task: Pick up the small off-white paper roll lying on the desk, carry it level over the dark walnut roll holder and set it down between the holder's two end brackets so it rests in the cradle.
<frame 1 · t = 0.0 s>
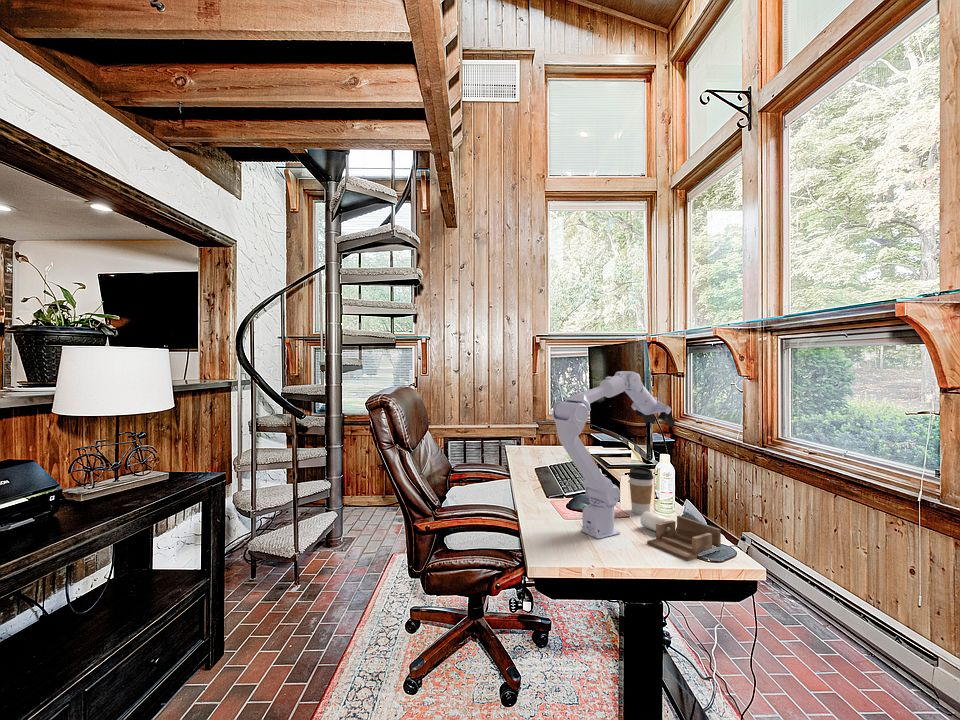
hand: (663, 423, 161), 32 cm above the table, tool tilted 50°, fingers open, 7 cm apart
roll: (656, 522, 149), point 2 cm above the table
coffee cup: (640, 512, 167), on the table
holder: (683, 547, 136), on the table
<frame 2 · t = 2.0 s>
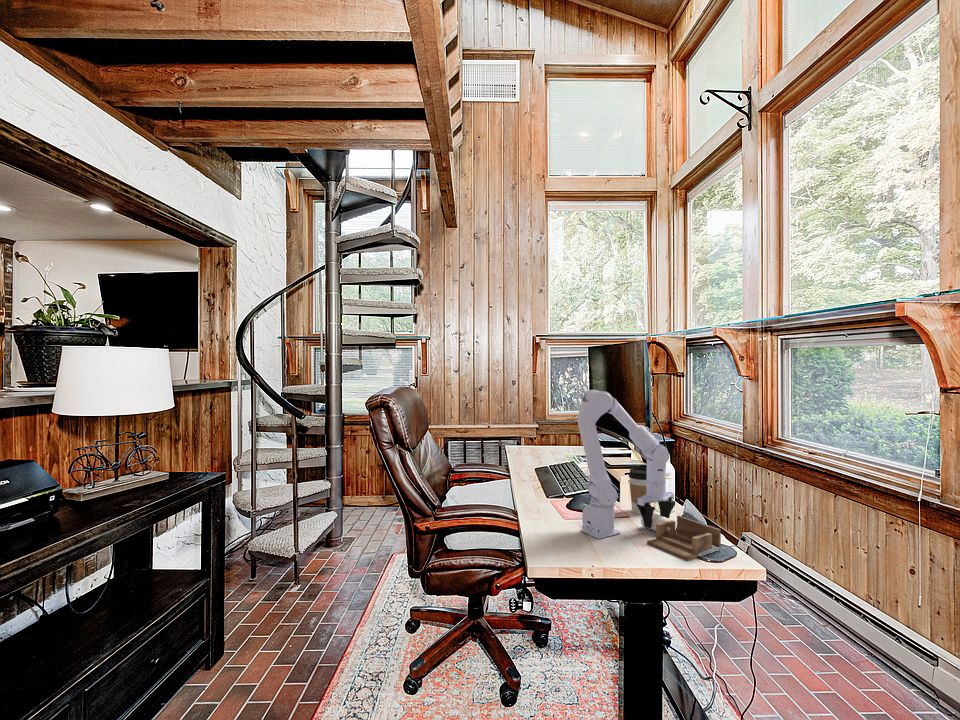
hand: (656, 524, 149), 2 cm above the table, tool pointing down, fingers open, 7 cm apart
roll: (656, 522, 149), point 2 cm above the table, tilted 33°
everything else where it was.
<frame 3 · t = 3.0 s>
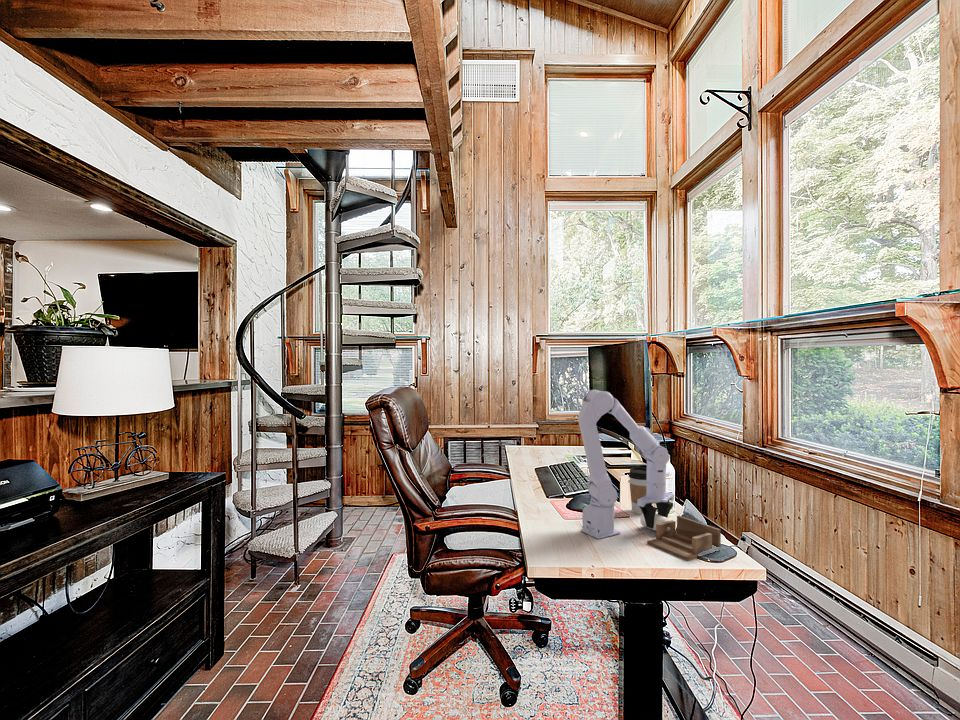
hand: (655, 525, 149), 1 cm above the table, tool pointing down, fingers closed on roll, 5 cm apart
roll: (655, 522, 149), point 2 cm above the table, tilted 28°, touching gripper
everything else where it was.
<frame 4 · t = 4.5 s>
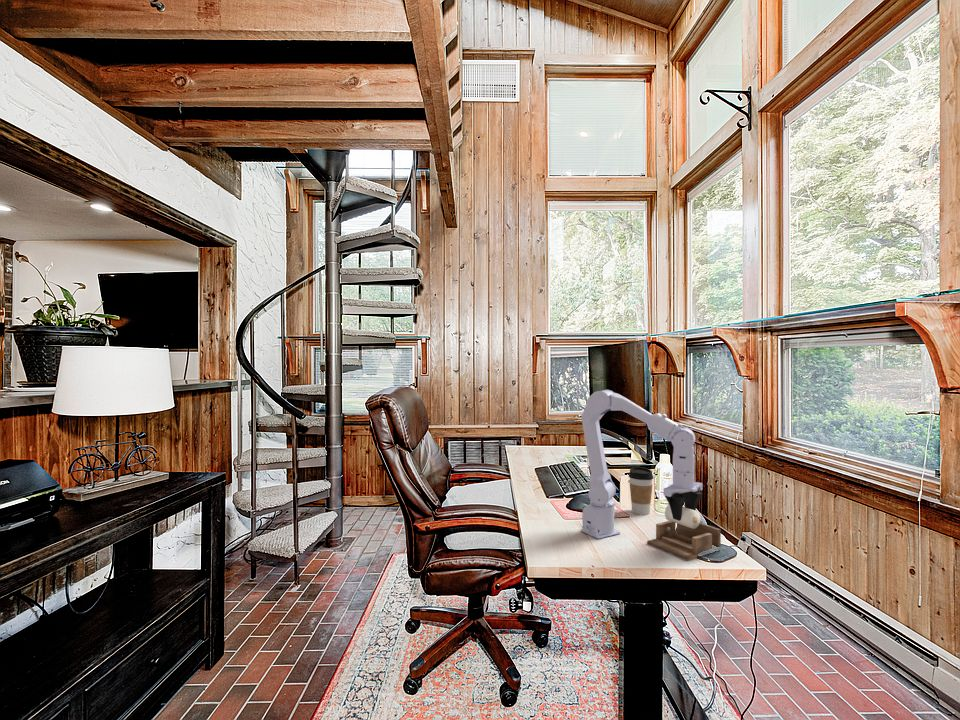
hand: (683, 517, 136), 8 cm above the table, tool pointing down, fingers closed on roll, 5 cm apart
roll: (682, 515, 136), point 9 cm above the table, tilted 20°, touching gripper
everything else where it was.
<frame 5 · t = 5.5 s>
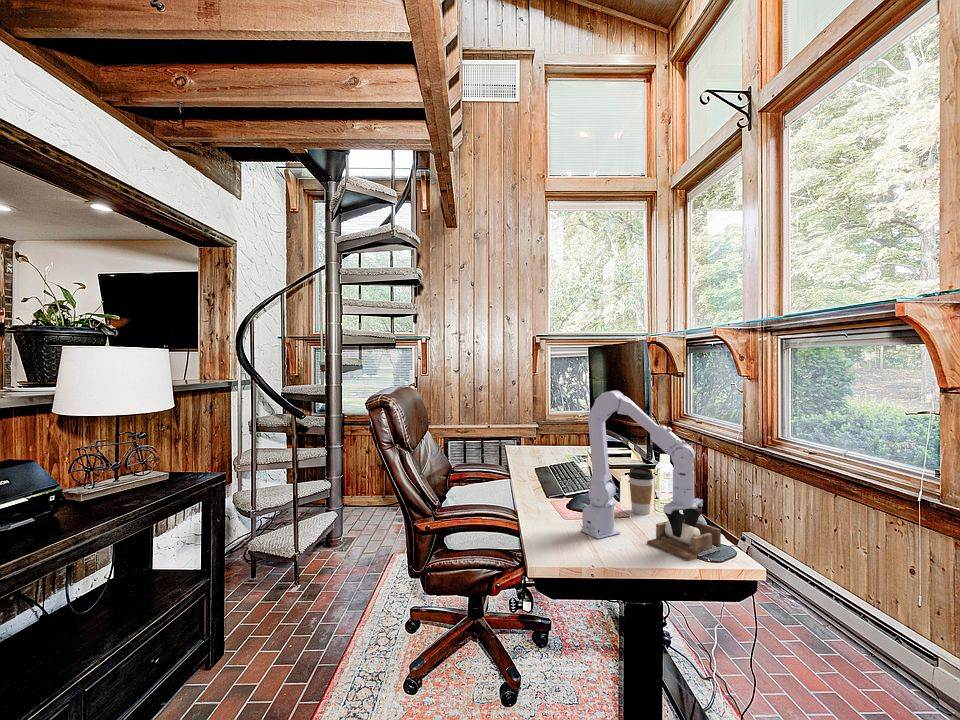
hand: (683, 534, 136), 4 cm above the table, tool pointing down, fingers closed on roll, 5 cm apart
roll: (682, 532, 136), point 4 cm above the table, tilted 20°, touching gripper
everything else where it was.
when the fingers open (3 cm above the table, at t = 6.3 s): roll stays where it is, resting on holder.
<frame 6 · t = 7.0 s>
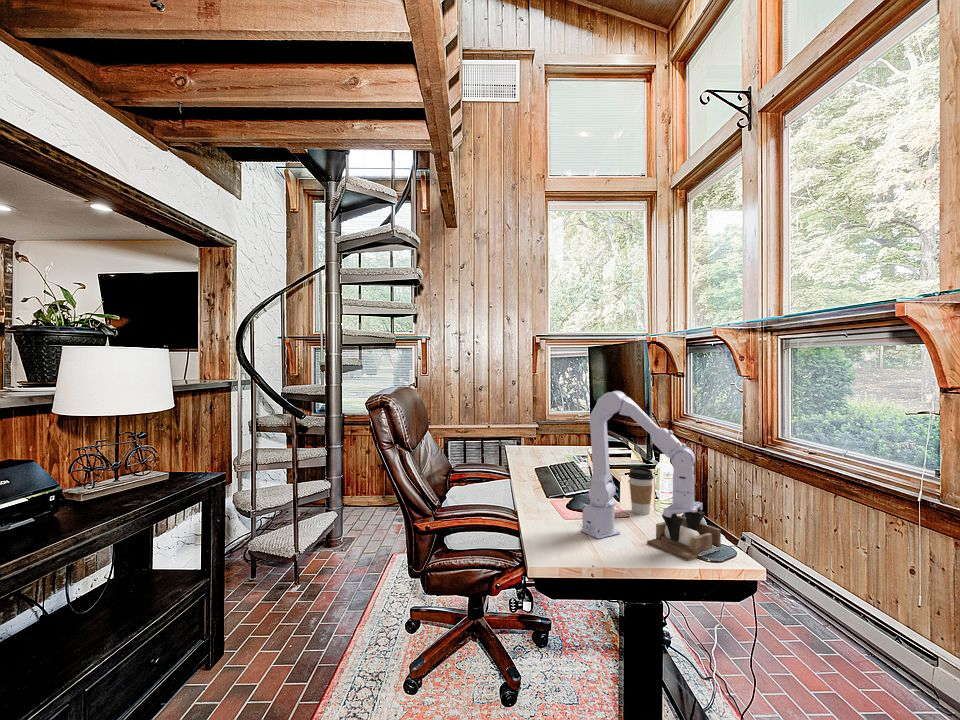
hand: (683, 537, 136), 3 cm above the table, tool pointing down, fingers open, 7 cm apart
roll: (682, 535, 136), point 3 cm above the table, tilted 17°, touching holder
everything else where it was.
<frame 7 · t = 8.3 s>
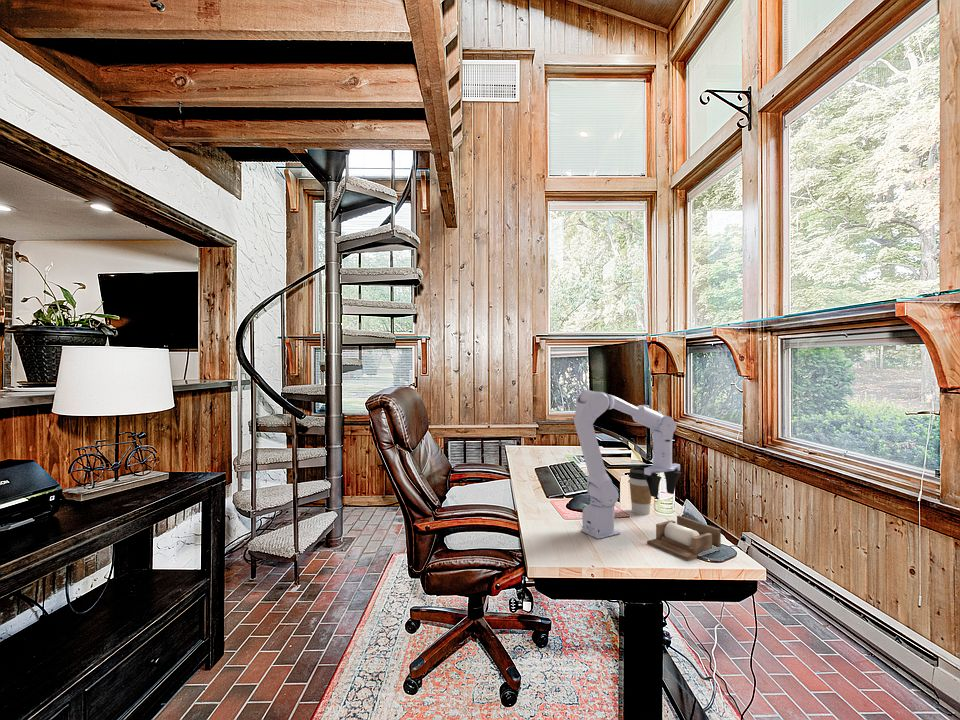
hand: (662, 494, 152), 10 cm above the table, tool pointing down, fingers open, 7 cm apart
nothing on the table moved.
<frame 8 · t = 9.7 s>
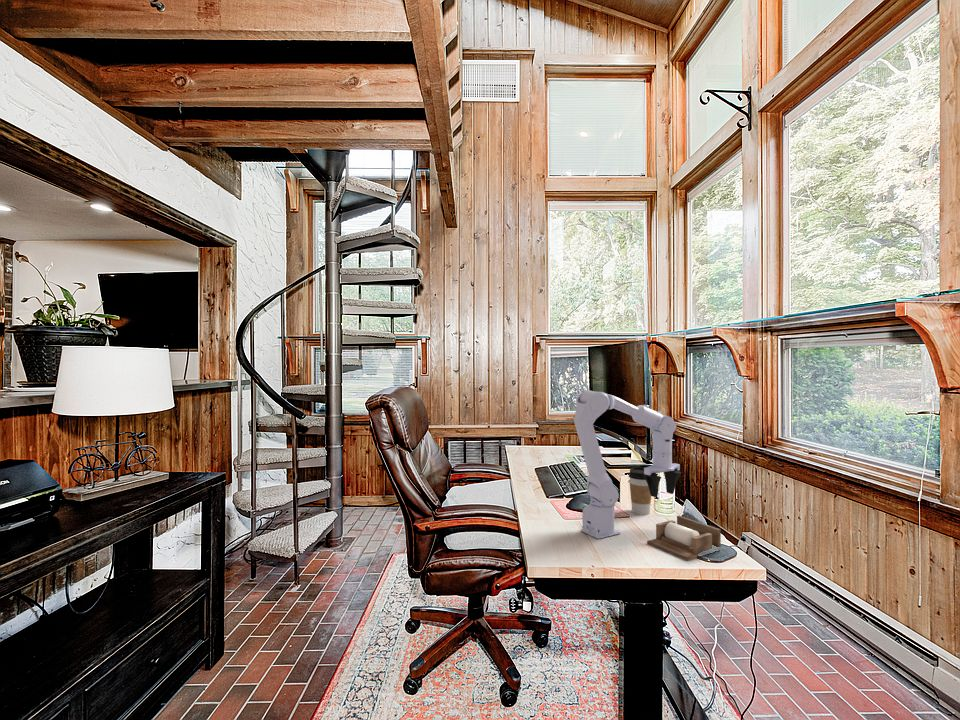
hand: (662, 494, 152), 10 cm above the table, tool pointing down, fingers open, 7 cm apart
nothing on the table moved.
at the end: roll 0.3 cm off-centre on the holder, point 3.3 cm above the holder's base; the gripper is holding nothing; roll touching holder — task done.
